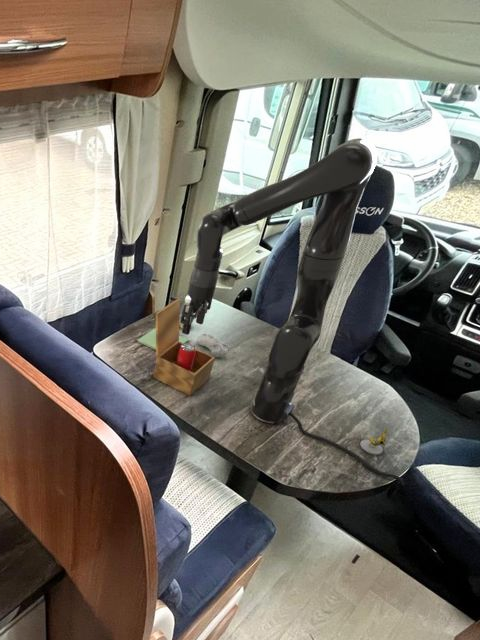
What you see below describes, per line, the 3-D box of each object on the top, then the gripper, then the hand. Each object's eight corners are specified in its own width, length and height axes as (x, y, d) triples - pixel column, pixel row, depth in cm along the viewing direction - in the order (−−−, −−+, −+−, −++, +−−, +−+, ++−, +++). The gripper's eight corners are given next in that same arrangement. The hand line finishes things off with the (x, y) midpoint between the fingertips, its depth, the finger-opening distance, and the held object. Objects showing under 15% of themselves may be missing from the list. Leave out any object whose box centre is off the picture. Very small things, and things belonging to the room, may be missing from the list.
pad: (188, 340, 170) (188, 339, 169) (168, 356, 161) (169, 354, 161) (157, 327, 177) (157, 326, 176) (137, 341, 169) (137, 339, 168)
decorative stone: (189, 345, 167) (192, 333, 164) (200, 339, 170) (203, 328, 167) (219, 361, 159) (222, 349, 156) (230, 354, 163) (233, 343, 159)
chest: (209, 377, 152) (215, 357, 146) (189, 395, 144) (195, 374, 139) (173, 361, 159) (177, 341, 154) (153, 377, 151) (156, 357, 146)
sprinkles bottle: (179, 329, 176) (185, 299, 168) (179, 323, 179) (186, 293, 171) (191, 331, 175) (198, 300, 167) (191, 325, 179) (198, 295, 170)
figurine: (378, 457, 124) (391, 437, 119) (356, 446, 127) (369, 426, 122) (385, 448, 127) (399, 428, 122) (364, 437, 130) (377, 417, 125)
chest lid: (179, 299, 145) (177, 298, 146) (157, 313, 138) (155, 313, 138) (179, 340, 153) (177, 339, 154) (158, 356, 146) (155, 355, 146)
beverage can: (175, 370, 154) (181, 341, 146) (190, 373, 152) (197, 344, 145) (172, 378, 150) (179, 349, 142) (188, 382, 149) (195, 352, 141)
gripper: (202, 293, 123) (191, 342, 133) (226, 277, 131) (214, 324, 141) (179, 284, 127) (170, 332, 137) (203, 269, 135) (193, 315, 145)
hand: (192, 328), depth 139 cm, fingers open, 8 cm apart
